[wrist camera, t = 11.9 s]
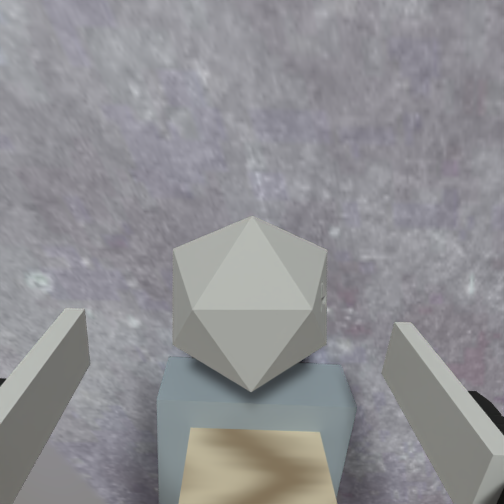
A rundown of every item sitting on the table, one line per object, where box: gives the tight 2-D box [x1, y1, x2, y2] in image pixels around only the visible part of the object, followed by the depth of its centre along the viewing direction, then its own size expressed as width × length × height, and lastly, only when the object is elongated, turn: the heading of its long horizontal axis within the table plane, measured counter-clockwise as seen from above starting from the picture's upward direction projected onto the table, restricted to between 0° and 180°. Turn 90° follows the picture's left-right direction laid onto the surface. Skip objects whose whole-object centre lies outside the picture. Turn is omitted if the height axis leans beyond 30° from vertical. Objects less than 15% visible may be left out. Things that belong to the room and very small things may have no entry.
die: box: [173, 216, 327, 392], centre depth 20 cm, size 8×9×10 cm
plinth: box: [157, 357, 357, 504], centre depth 26 cm, size 12×12×4 cm
